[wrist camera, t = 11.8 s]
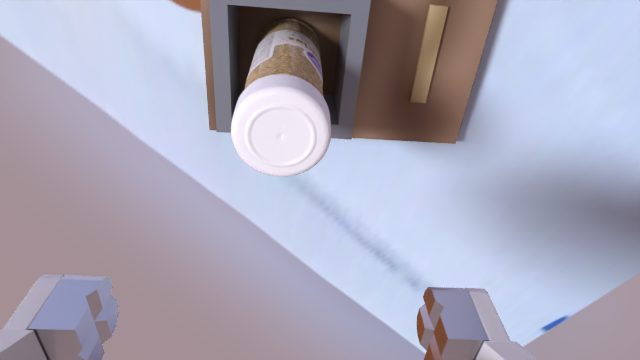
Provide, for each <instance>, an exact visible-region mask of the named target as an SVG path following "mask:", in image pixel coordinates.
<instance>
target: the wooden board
mask: <svg viewBox="0 0 640 360" xmlns="http://www.w3.org/2000/svg"><path fill="white" fill-rule="evenodd" d="M497 1H498V0H371V4H370V11H369V18H368V25H367V32H366V39H365V47H364V54H363V61H362V68H361V75H360V82H359V90H358V97H357V104H356V111H355V118H354V125H353V133H352V138H365V139H383V140H401V141H419V142H437V143H456V140H457V137H458V133H459V130H460V127H461V123H462V120H463V116H464V113H465V110H466V106H467V103H468V100H469V96H470V93H471V89H472V86H473V83H474V79H475V76H476V72H477V69H478V66H479V62H480V59H481V56H482V52H483V49H484V45H485V42H486V39H487V35H488V32H489V28H490V25H491V22H492V18H493V15H494V12H495V8H496V5H497ZM201 13H202V28H203V42H204V56H205V70H206V85H207V99H208V113H209V128H210V130H217V128H216V111H215V94H214V77H213V60H212V44H211V27H210V10H209V0H201ZM281 18H295V19H298V20H300V21H303V22H305V23H306V24H308V25H309V26H310V27H311V28H312V29H313V30H314V32H315V33H316V35H317V37H318V39H319V43H320V53H321V54H320V59H321V67H322V77H323V88H322V89H323V95H330V96H334V87H335V77H336V68H337V59H338V49H339V40H340V30H341V21H342V14H341V13H328V12H315V11H302V10H290V9H277V8H264V7H251V6H239V40H240V83H241V90H245V84H246V80H247V77H248V74H249V70H250V67H251V64H252V60H253V57H254V54H255V51H256V49H257V41H258V38H259V36H260V34H261V32H262V31H263V29H264V28H265V27H266V25H268V24H269V23H271V22H273V21H275V20H277V19H281Z"/></svg>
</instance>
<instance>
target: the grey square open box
mask: <svg viewBox="0 0 640 360" xmlns="http://www.w3.org/2000/svg"><path fill="white" fill-rule="evenodd" d="M370 4H371V0H209V10H210V27H211V44H212V60H213V77H214V94H215V111H216V128H217V132H230V133H231V123H232V118H233V114H234V110H235V107H236V104H237V101H238V99H239V97H240V95H241V94H242V92H243V91H244V90H241V83H240V40H239V6H251V7H264V8H277V9H290V10H302V11H315V12H328V13H341V14H342V21H341V30H340V40H339V49H338V59H337V68H336V77H335V87H334V96H330V95H323V98H324V99H325V101H326V103H327V106H328V109H329V113H330V121H331V138H339V139H352V133H353V125H354V118H355V111H356V104H357V97H358V90H359V82H360V75H361V68H362V61H363V54H364V47H365V39H366V32H367V25H368V18H369V11H370Z"/></svg>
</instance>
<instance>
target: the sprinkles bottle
mask: <svg viewBox="0 0 640 360" xmlns="http://www.w3.org/2000/svg"><path fill="white" fill-rule="evenodd" d="M320 54H321V53H320V43H319V39H318V37H317V35H316V33H315V32H314V30H313V29H312V28H311V27H310V26H309V25H308V24H306V23H305V22H303V21H300V20H298V19H295V18H281V19H277V20H275V21H273V22H271V23H269V24H268V25H266V27H265V28H264V29H263V31H262V32H261V34H260V36H259V38H258V41H257V49H256V51H255V54H254V57H253V60H252V64H251V67H250V70H249V74H248V77H247V80H246V84H245V90H244V91H243V92H242V94H241V95H240V97H239V99H238V101H237V104H236V107H235V110H234V114H233V118H232V123H231V136H232V141H233V144H234V146H235V149H236V151H237V152H238V154H239V155H240V157H241V158H242V159H243V160H244V161H245V162H246V163H247V164H248V165H250V166H251V167H252V168H254V169H256V170H257V171H260V172H262V173H265V174H268V175H272V176H292V175H297V174H300V173H303V172H305V171H307V170H309V169H311V168H312V167H313V166H315V165H316V164H317V163H318V162H319V161H320V160H321V159H322V157H323V156H324V154H325V153H326V151H327V149H328V146H329V143H330V139H331V121H330V113H329V109H328V106H327V103H326V101H325V99H324V98H323V89H322V88H323V77H322V67H321V59H320Z"/></svg>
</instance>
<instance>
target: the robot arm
mask: <svg viewBox="0 0 640 360" xmlns="http://www.w3.org/2000/svg"><path fill="white" fill-rule="evenodd" d="M112 288H113V286H112V283H111V280H110V278H108V277H96V276H78V275H56V274H44V275H43V276H41V277H40V278H38V279H37V281H36V282H35V284H34V285H33V286H32V288H31V289H30V291H29V292H28V293H27V295H26V296H25V298H24V299H23V301H22V302H21V303H20V305H19V306H18V308H17V309H16V310H15V312H14V313H13V315H12V316H11V317H10V319H9V320H8V322H7V323H6V325H5V326H4V327H3V329H0V360H101V359H102V357H103V355H104V349H103V346H102V344H103V343H104V342H105V341H107V340H108V339H109V338H110V337H111V336H112V334H113V332H114V330H115V327H116V323H117V317H118V304H117V300H116V299H115V298H114V297H113V296H112V295H110V292H111V290H112ZM423 298H424V302H425V304H424V305H423V306H422V307H420V308H419V312H418V315H417V333H418V338H419V342H420V344H421V345H422V346H423V347H424V348H425V349H426V350H427V352H426V355H425V358H424V360H538V359H536V358H535V357H534V356H533V355H532V354H530V353H529V352H528V351H526V350H525V349H524V348H523V347H522V346H521V345H520V344H518V343H517V342H511V341H510V339H509V337H508V334H507V332H506V330H505V328H504V326H503V324H502V322H501V320H500V318H499V316H498V313H497V311H496V309H495V307H494V305H493V303H492V301H491V299H490V297H489V295H488V292H487V291H486V290H485V289H475V288H465V289H464V288H441V287H428V288H427V289H426V290H425V293H424V296H423Z"/></svg>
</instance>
